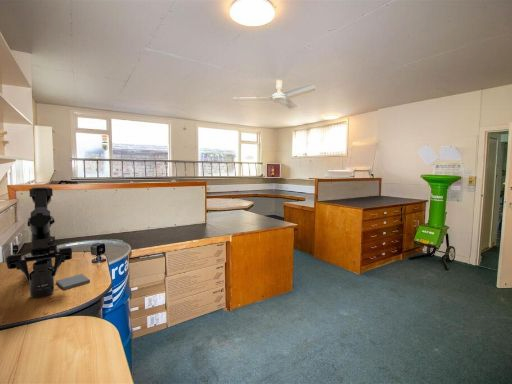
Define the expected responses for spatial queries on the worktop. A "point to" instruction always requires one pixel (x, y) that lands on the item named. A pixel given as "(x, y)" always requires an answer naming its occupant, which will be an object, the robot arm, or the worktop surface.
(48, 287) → the supplement bottle
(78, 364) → the worktop surface
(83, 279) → the coaster
